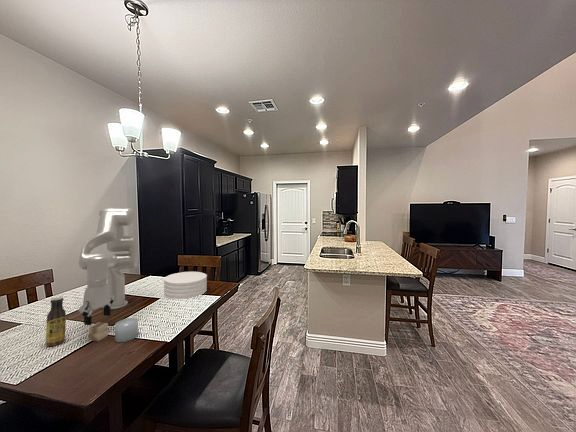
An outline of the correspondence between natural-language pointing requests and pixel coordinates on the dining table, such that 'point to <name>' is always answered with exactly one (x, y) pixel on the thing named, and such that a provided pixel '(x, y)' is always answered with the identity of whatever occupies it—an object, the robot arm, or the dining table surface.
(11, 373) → the dining table surface
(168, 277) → the plate stack
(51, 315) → the sauce bottle
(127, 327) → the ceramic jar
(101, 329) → the maple block
